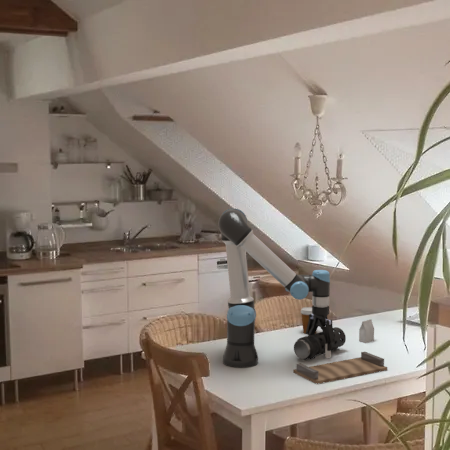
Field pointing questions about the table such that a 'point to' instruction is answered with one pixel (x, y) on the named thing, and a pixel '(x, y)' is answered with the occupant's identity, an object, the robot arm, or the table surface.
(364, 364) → the mounting board
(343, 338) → the muzzle brake
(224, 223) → the robot arm
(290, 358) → the table surface
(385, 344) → the table surface
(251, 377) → the table surface
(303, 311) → the disposable coffee cup
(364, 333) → the grey paper bag
